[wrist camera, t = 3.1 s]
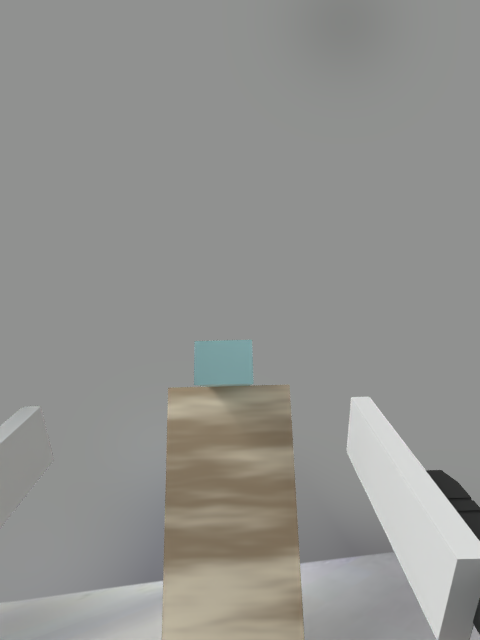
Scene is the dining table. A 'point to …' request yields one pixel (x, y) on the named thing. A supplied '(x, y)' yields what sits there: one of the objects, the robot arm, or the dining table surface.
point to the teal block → (223, 363)
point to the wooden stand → (231, 516)
